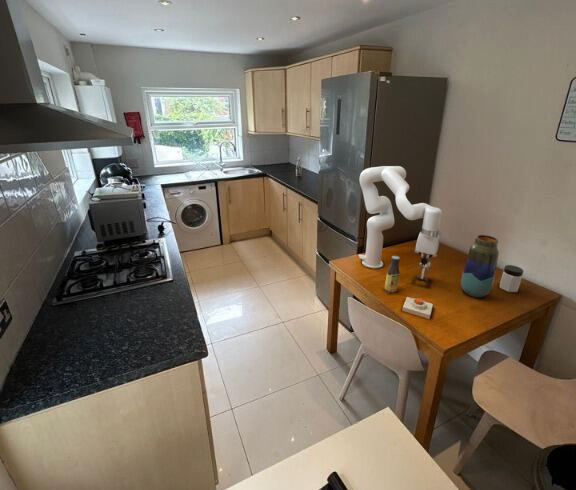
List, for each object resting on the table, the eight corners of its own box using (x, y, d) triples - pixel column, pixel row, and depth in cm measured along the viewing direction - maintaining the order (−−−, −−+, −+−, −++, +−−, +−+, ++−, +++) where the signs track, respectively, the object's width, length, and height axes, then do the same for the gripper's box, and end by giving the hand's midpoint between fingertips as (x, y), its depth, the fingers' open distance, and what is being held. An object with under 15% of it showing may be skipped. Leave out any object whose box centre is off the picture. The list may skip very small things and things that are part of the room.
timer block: (402, 310, 144) (403, 303, 143) (406, 300, 152) (407, 293, 151) (429, 319, 138) (430, 311, 137) (432, 307, 146) (433, 300, 145)
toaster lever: (426, 282, 160) (426, 280, 158) (415, 280, 162) (416, 278, 160) (430, 266, 165) (430, 263, 164) (420, 264, 168) (420, 261, 166)
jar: (521, 290, 160) (528, 270, 156) (512, 294, 157) (518, 274, 153) (504, 282, 168) (509, 263, 164) (495, 286, 165) (500, 266, 160)
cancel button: (413, 303, 143) (414, 300, 143) (415, 299, 146) (415, 296, 146) (422, 306, 141) (422, 302, 141) (423, 302, 144) (423, 299, 144)
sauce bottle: (390, 295, 155) (395, 261, 148) (381, 289, 161) (385, 256, 154) (399, 292, 158) (404, 258, 151) (390, 286, 163) (395, 253, 157)
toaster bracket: (428, 288, 163) (432, 268, 158) (412, 284, 166) (415, 265, 162) (430, 279, 171) (434, 261, 167) (415, 276, 174) (419, 257, 170)
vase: (494, 295, 156) (509, 240, 145) (480, 303, 149) (495, 246, 138) (467, 283, 167) (480, 231, 156) (453, 290, 160) (465, 236, 149)
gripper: (447, 232, 149) (440, 265, 156) (415, 226, 157) (410, 258, 163) (445, 237, 143) (438, 271, 150) (412, 231, 151) (407, 263, 157)
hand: (423, 264), depth 157 cm, fingers closed
